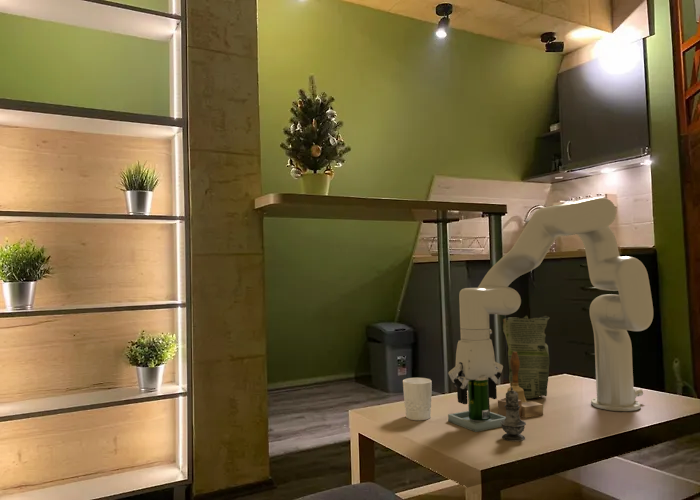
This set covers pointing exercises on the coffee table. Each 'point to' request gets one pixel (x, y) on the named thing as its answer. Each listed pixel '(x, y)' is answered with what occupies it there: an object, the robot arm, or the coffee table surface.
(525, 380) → the pouch
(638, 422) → the coffee table surface
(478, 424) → the tray
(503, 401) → the walnut cube
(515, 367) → the hand bell
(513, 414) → the grey turned upright piece
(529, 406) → the light oak block
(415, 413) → the white cup
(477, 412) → the green soda can
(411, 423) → the coffee table surface
